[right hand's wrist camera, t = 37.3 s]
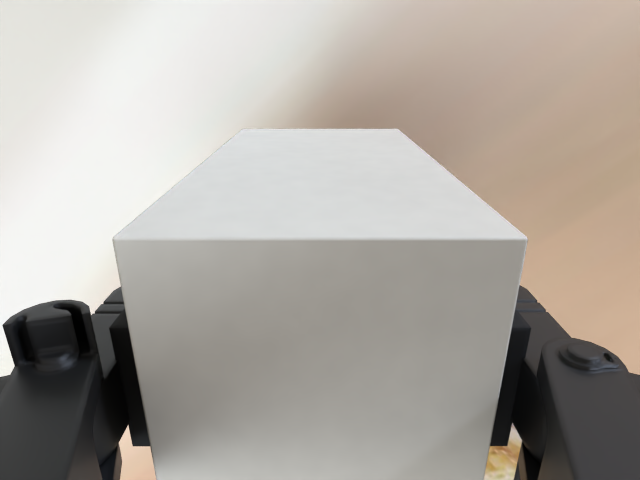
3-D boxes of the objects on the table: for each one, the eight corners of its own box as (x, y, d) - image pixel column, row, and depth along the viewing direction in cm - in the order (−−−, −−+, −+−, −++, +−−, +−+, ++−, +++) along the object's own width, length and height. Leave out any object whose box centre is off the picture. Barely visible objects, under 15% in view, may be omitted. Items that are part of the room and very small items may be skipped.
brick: (241, 128, 17) (110, 237, 6) (398, 128, 17) (529, 237, 6) (251, 284, 19) (168, 550, 9) (388, 283, 19) (471, 551, 9)
